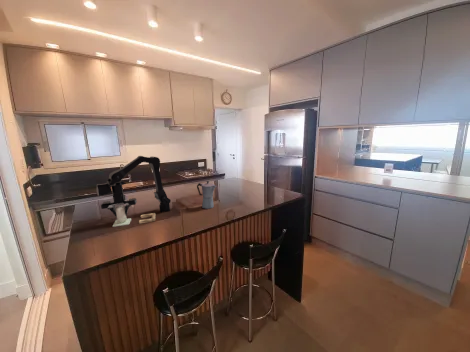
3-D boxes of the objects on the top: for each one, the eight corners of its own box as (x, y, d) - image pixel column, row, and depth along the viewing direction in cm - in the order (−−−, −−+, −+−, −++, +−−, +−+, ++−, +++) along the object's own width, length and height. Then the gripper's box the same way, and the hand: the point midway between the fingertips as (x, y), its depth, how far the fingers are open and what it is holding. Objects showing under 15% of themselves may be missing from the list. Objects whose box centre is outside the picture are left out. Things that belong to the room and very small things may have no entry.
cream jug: (126, 221, 126) (124, 208, 124) (116, 222, 124) (114, 209, 122) (128, 217, 133) (126, 204, 131) (119, 218, 131) (117, 205, 129)
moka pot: (215, 209, 145) (214, 182, 141) (195, 208, 148) (193, 182, 144) (218, 205, 154) (217, 179, 150) (200, 204, 158) (198, 179, 153)
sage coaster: (131, 218, 133) (131, 218, 133) (129, 224, 125) (129, 223, 125) (115, 221, 130) (115, 220, 130) (112, 226, 122) (112, 226, 122)
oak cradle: (155, 214, 139) (155, 212, 138) (154, 221, 128) (154, 219, 128) (141, 216, 136) (141, 214, 136) (139, 223, 126) (139, 221, 125)
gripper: (136, 187, 134) (139, 209, 137) (104, 190, 128) (107, 213, 131) (133, 191, 123) (137, 215, 127) (98, 195, 118) (103, 220, 121)
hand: (121, 216), depth 127 cm, fingers closed on cream jug, 5 cm apart
